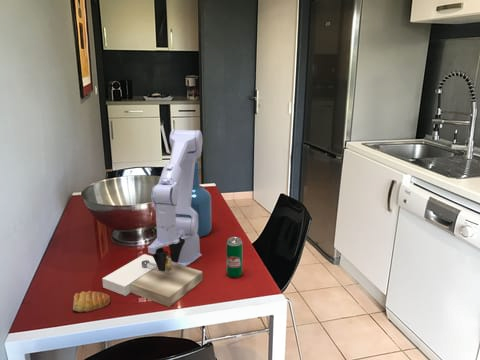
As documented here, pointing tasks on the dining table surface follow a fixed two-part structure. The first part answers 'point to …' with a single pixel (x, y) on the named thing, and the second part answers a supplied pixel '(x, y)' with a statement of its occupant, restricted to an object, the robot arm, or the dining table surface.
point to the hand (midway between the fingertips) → (168, 265)
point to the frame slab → (127, 275)
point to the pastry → (90, 301)
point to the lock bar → (154, 266)
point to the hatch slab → (167, 284)
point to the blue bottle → (201, 205)
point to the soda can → (234, 257)
